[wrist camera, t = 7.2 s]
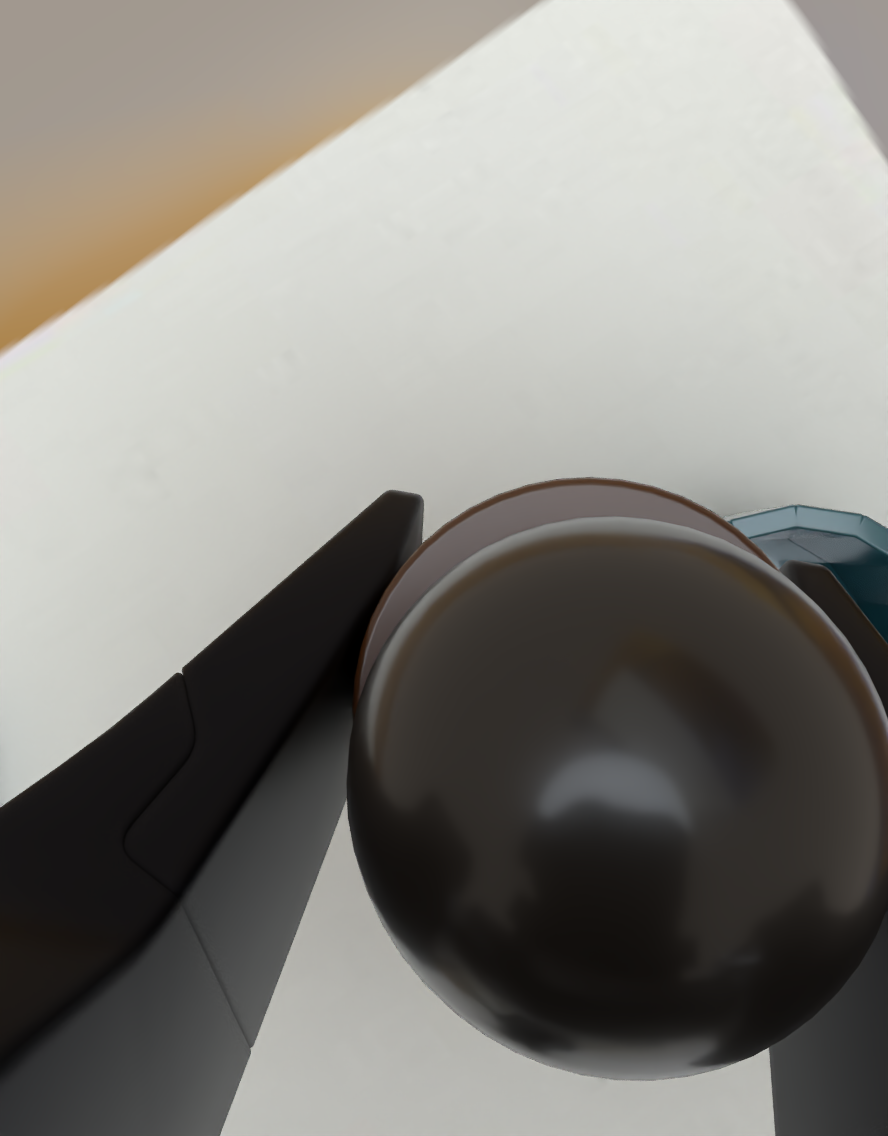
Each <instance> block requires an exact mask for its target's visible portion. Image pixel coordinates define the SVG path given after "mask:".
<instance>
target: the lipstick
mask: <svg viewBox="0 0 888 1136" xmlns="http://www.w3.org/2000/svg"><path fill="white" fill-rule="evenodd" d="M352 716H353V727H352V731H351V736H350V742H349V755H348V767H347V780H346V787H347V808H348V820H349V826H350V831H351V837H352V842H353V848H354V853H355V856H356V859H357V862H358V865H359V868H360V872H361V875H362V878H363V881H364V884H365V887H366V889H367V892H368V894H369V897H370V899H371V901H372V903H373V905H374V908H375V910H376V912H377V914H378V916H379V918H380V921H381V923H382V925H383V927H384V928H385V930H386V932H387V933H388V935H389V936H390V938H391V940H392V941H393V943H394V944H395V946H396V948H397V949H398V951H399V952H400V954H401V956H402V957H403V958H404V959H405V961H406V962H407V963H408V964H409V966H410V967H411V968H412V969H413V970H414V972H415V973H416V974H417V975H418V977H419V978H420V979H421V980H422V982H423V983H424V984H425V985H426V986H427V987H428V988H429V989H430V990H431V991H433V992H434V993H435V994H436V995H437V996H438V997H439V998H440V999H441V1000H442V1001H443V1002H444V1003H445V1004H446V1005H447V1006H448V1007H449V1008H450V1009H451V1010H453V1011H454V1012H455V1013H456V1014H457V1015H458V1016H460V1017H461V1018H462V1019H464V1020H465V1021H466V1022H468V1023H469V1024H470V1025H472V1026H473V1027H474V1028H476V1029H477V1030H478V1031H480V1032H481V1033H482V1034H484V1035H485V1036H487V1037H489V1038H491V1039H492V1040H494V1041H496V1042H498V1043H499V1044H501V1045H503V1046H505V1047H506V1048H508V1049H510V1050H512V1051H513V1052H515V1053H518V1054H520V1055H523V1056H525V1057H527V1058H530V1059H532V1060H535V1061H537V1062H539V1063H542V1064H544V1065H547V1066H550V1067H554V1068H557V1069H561V1070H564V1071H568V1072H572V1073H575V1074H579V1075H584V1076H591V1077H598V1078H605V1079H612V1080H636V1081H654V1080H663V1079H672V1078H681V1077H688V1076H693V1075H697V1074H701V1073H705V1072H709V1071H713V1070H717V1069H721V1068H723V1067H726V1066H729V1065H731V1064H734V1063H736V1062H739V1061H742V1060H744V1059H747V1058H749V1057H752V1056H754V1055H756V1054H758V1053H759V1052H761V1051H763V1050H765V1049H767V1048H769V1047H770V1046H772V1045H774V1044H776V1043H778V1042H779V1041H781V1040H783V1039H785V1038H786V1037H787V1036H789V1035H790V1034H791V1033H793V1032H794V1031H796V1030H797V1029H798V1028H800V1027H801V1026H802V1025H804V1024H805V1023H806V1022H808V1021H809V1020H810V1019H812V1018H813V1017H814V1016H815V1015H816V1014H817V1013H818V1012H819V1011H820V1010H821V1009H822V1008H823V1007H824V1006H825V1005H826V1004H827V1003H828V1002H829V1001H830V1000H831V999H832V998H833V997H834V996H835V995H837V994H838V992H839V991H840V990H841V988H842V987H843V986H844V985H845V983H846V982H847V981H848V979H849V978H850V977H851V976H852V974H853V973H854V972H855V970H856V969H857V968H858V967H859V965H860V963H861V962H862V960H863V958H864V956H865V955H866V953H867V951H868V950H869V948H870V946H871V944H872V943H873V941H874V939H875V937H876V936H877V933H878V931H879V928H880V926H881V923H882V921H883V918H884V916H885V913H886V911H887V909H888V719H887V716H886V713H885V710H884V707H883V704H882V701H881V699H880V697H879V695H878V693H877V691H876V688H875V686H874V684H873V682H872V680H871V678H870V676H869V674H868V672H867V670H866V668H865V666H864V665H863V663H862V661H861V660H860V658H859V657H858V655H857V654H856V652H855V651H854V649H853V648H852V646H851V645H850V643H849V642H848V640H847V639H846V637H845V636H844V635H843V633H842V632H841V631H840V630H839V629H838V628H837V626H836V625H835V624H834V623H833V622H832V621H831V620H830V618H829V617H828V616H827V615H826V614H825V613H824V611H823V610H822V609H821V608H820V607H819V606H818V605H817V604H816V603H815V602H814V601H813V600H812V599H811V598H810V597H808V596H807V595H806V594H805V593H804V592H803V591H802V590H801V589H799V588H798V587H797V586H796V585H795V584H794V583H793V582H792V581H790V580H789V579H788V578H787V577H786V576H785V575H783V574H782V573H781V572H780V570H779V569H778V568H777V567H776V566H775V565H774V564H773V562H772V561H771V560H770V559H769V558H768V557H767V555H766V554H765V553H764V552H763V551H762V550H761V549H760V548H759V547H758V546H757V545H756V544H754V543H753V542H752V541H751V540H750V539H749V538H748V537H747V536H745V535H744V534H743V533H742V532H741V531H740V530H739V529H737V528H736V527H735V526H733V525H732V524H730V523H729V522H727V521H726V520H724V519H723V518H721V517H720V516H718V515H717V514H715V513H714V512H712V511H711V510H709V509H707V508H705V507H703V506H701V505H699V504H697V503H695V502H693V501H691V500H689V499H687V498H685V497H683V496H680V495H677V494H674V493H671V492H668V491H666V490H663V489H660V488H657V487H654V486H650V485H645V484H640V483H636V482H631V481H626V480H620V479H607V478H594V477H585V478H566V479H556V480H550V481H545V482H539V483H534V484H529V485H525V486H522V487H519V488H516V489H513V490H510V491H507V492H504V493H501V494H498V495H496V496H494V497H492V498H490V499H487V500H485V501H483V502H481V503H479V504H477V505H475V506H473V507H471V508H469V509H468V510H466V511H464V512H463V513H461V514H460V515H458V516H457V517H455V518H454V519H452V520H451V521H449V522H447V523H446V524H445V525H443V526H442V527H441V528H440V529H439V530H437V531H436V532H435V533H434V534H433V535H432V536H430V537H429V538H428V539H427V540H426V541H425V542H423V543H422V544H421V545H420V546H419V547H418V549H417V550H416V551H415V552H414V553H413V554H412V555H411V556H410V557H409V559H408V560H407V561H406V562H405V563H404V564H403V565H402V566H401V568H400V569H399V571H398V572H397V574H396V575H395V576H394V578H393V579H392V581H391V582H390V584H389V585H388V587H387V588H386V590H385V591H384V593H383V595H382V597H381V599H380V601H379V603H378V605H377V607H376V609H375V610H374V612H373V614H372V616H371V619H370V621H369V624H368V627H367V630H366V633H365V635H364V638H363V641H362V644H361V647H360V652H359V656H358V661H357V666H356V670H355V675H354V687H353V699H352Z"/></svg>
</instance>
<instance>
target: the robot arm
mask: <svg viewBox="0 0 888 1136" xmlns="http://www.w3.org/2000/svg"><path fill="white" fill-rule="evenodd" d="M423 513H424V501H423V498H422V497H421V496H420V495H418V494H414V493H408V492H402V491H396V490H389V491H386V492H385V493H383V494H382V495H381V496H380V497H379V498H377V499H376V500H375V501H374V502H373V503H372V504H371V505H369V506H368V507H367V508H366V509H365V510H364V511H363V512H361V513H360V514H359V515H358V516H357V517H356V518H354V519H353V520H352V521H351V522H350V523H349V524H348V525H346V526H345V527H344V528H343V529H342V530H341V531H340V532H338V533H337V534H336V535H335V536H334V537H333V538H331V539H330V540H329V541H328V542H327V543H326V544H325V545H323V546H322V547H321V548H320V549H319V550H318V551H316V552H315V553H314V554H313V555H312V556H311V557H310V558H308V559H307V560H306V561H305V562H304V563H303V564H302V565H300V566H299V567H298V568H297V569H296V570H295V571H293V572H292V573H291V574H290V575H289V576H288V577H287V578H285V579H284V580H283V581H282V582H281V583H280V584H279V585H277V586H276V587H275V588H274V589H273V590H272V591H270V592H269V593H268V594H267V595H266V596H265V597H264V598H262V599H261V600H260V601H259V602H258V603H257V604H255V605H254V606H253V607H252V608H251V609H250V610H249V611H247V612H246V613H245V614H244V615H243V616H242V617H241V618H239V619H238V620H237V621H236V622H235V623H234V624H232V625H231V626H230V627H229V628H228V629H227V630H226V631H224V632H223V633H222V634H221V635H220V636H219V637H218V638H216V639H215V640H214V641H213V642H212V643H211V644H209V645H208V646H207V647H206V648H205V649H204V650H203V651H201V652H200V653H199V654H198V655H197V656H196V657H194V658H193V659H192V660H191V661H190V662H189V663H188V664H186V665H185V666H184V667H183V668H182V674H183V675H182V674H181V673H176V674H174V675H173V676H172V677H171V678H170V679H169V680H168V681H166V682H165V683H164V684H163V685H162V686H161V687H160V688H158V689H157V690H156V691H155V692H154V693H153V694H151V695H150V696H149V697H148V698H147V699H145V700H144V701H143V702H142V703H141V704H139V705H138V706H137V707H136V708H134V709H133V710H132V711H131V712H130V713H128V714H127V715H126V716H125V717H123V718H122V719H121V720H120V721H119V722H117V723H116V724H115V725H114V726H113V727H111V728H110V729H109V730H107V731H106V732H105V733H103V734H102V735H101V736H99V737H98V738H97V739H95V740H94V741H93V742H91V743H90V744H88V745H87V746H86V747H84V748H83V749H82V750H80V751H79V752H78V753H76V754H75V755H74V756H72V757H71V758H70V759H68V760H67V761H66V762H64V763H63V764H61V765H60V766H59V767H57V768H56V769H54V770H53V771H51V772H50V773H49V774H47V775H46V776H44V777H43V778H42V779H40V780H39V781H37V782H36V783H34V784H33V785H32V786H30V787H29V788H27V789H26V790H25V791H23V792H22V793H20V794H19V795H17V796H16V797H15V798H13V799H12V800H10V801H9V802H8V803H6V804H5V805H3V806H2V807H0V1136H220V1133H221V1131H222V1128H223V1125H224V1123H225V1120H226V1117H227V1115H228V1112H229V1110H230V1107H231V1104H232V1102H233V1099H234V1096H235V1094H236V1091H237V1088H238V1086H239V1083H240V1080H241V1078H242V1075H243V1073H244V1070H245V1067H246V1065H247V1062H248V1059H249V1057H250V1054H251V1050H250V1048H251V1047H253V1045H254V1043H255V1040H256V1038H257V1035H258V1032H259V1030H260V1027H261V1024H262V1022H263V1019H264V1016H265V1014H266V1011H267V1008H268V1006H269V1003H270V1000H271V998H272V995H273V993H274V990H275V987H276V985H277V982H278V979H279V977H280V974H281V971H282V969H283V966H284V963H285V961H286V958H287V955H288V953H289V950H290V947H291V945H292V942H293V940H294V937H295V934H296V932H297V929H298V926H299V924H300V921H301V918H302V916H303V913H304V910H305V908H306V905H307V902H308V900H309V897H310V894H311V892H312V889H313V887H314V884H315V881H316V879H317V876H318V873H319V871H320V868H321V865H322V863H323V860H324V857H325V855H326V852H327V849H328V847H329V844H330V842H331V839H332V836H333V834H334V831H335V828H336V826H337V823H338V820H339V818H340V815H341V812H342V810H343V807H344V804H345V802H346V799H347V787H346V780H347V767H348V755H349V742H350V736H351V731H352V727H353V716H352V699H353V687H354V675H355V670H356V666H357V661H358V656H359V652H360V647H361V644H362V641H363V638H364V635H365V633H366V630H367V627H368V624H369V621H370V619H371V616H372V614H373V612H374V610H375V609H376V607H377V605H378V603H379V601H380V599H381V597H382V595H383V593H384V591H385V590H386V588H387V587H388V585H389V584H390V582H391V581H392V579H393V578H394V576H395V575H396V574H397V572H398V571H399V569H400V568H401V566H402V565H403V564H404V563H405V562H406V561H407V560H408V559H409V557H410V556H411V555H412V554H413V553H414V552H415V551H416V550H417V549H418V547H419V546H420V545H421V544H422V533H423ZM779 570H780V572H781V573H782V574H783V575H785V576H786V577H787V578H788V579H789V580H790V581H792V582H793V583H794V584H795V585H796V586H797V587H798V588H799V589H801V590H802V591H803V592H804V593H805V594H806V595H807V596H808V597H810V598H811V599H812V600H813V601H814V602H815V603H816V604H817V605H818V606H819V607H820V608H821V609H822V610H823V611H824V613H825V614H826V615H827V616H828V617H829V618H830V620H831V621H832V622H833V623H834V624H835V625H836V626H837V628H838V629H839V630H840V631H841V632H842V633H843V635H844V636H845V637H846V639H847V640H848V642H849V643H850V645H851V646H852V648H853V649H854V651H855V652H856V654H857V655H858V657H859V658H860V660H861V661H862V663H863V665H864V666H865V668H866V670H867V672H868V674H869V676H870V678H871V680H872V682H873V684H874V686H875V688H876V691H877V693H878V695H879V697H880V699H881V701H882V704H883V707H884V710H885V713H886V716H887V719H888V644H887V642H886V641H885V640H884V639H883V637H882V636H881V635H880V633H879V632H878V631H877V630H876V628H875V627H874V626H873V624H872V623H871V622H870V621H869V619H868V618H867V617H866V616H865V614H864V613H863V612H862V610H861V609H860V608H859V607H858V605H857V604H856V603H855V602H854V600H853V599H852V598H851V596H850V595H849V594H848V593H847V591H846V590H845V589H844V587H843V586H842V585H841V584H840V582H839V581H838V580H837V579H836V577H835V576H834V575H833V573H832V572H831V571H830V570H829V569H828V568H827V567H825V566H823V565H820V564H814V563H808V562H803V561H797V560H789V561H786V562H785V563H784V564H783V565H782V566H781V568H780V569H779ZM769 1053H770V1067H771V1081H772V1095H773V1109H774V1123H775V1136H888V909H887V911H886V913H885V916H884V918H883V921H882V923H881V926H880V928H879V931H878V933H877V936H876V937H875V939H874V941H873V943H872V944H871V946H870V948H869V950H868V951H867V953H866V955H865V956H864V958H863V960H862V962H861V963H860V965H859V967H858V968H857V969H856V970H855V972H854V973H853V974H852V976H851V977H850V978H849V979H848V981H847V982H846V983H845V985H844V986H843V987H842V988H841V990H840V991H839V992H838V994H837V995H835V996H834V997H833V998H832V999H831V1000H830V1001H829V1002H828V1003H827V1004H826V1005H825V1006H824V1007H823V1008H822V1009H821V1010H820V1011H819V1012H818V1013H817V1014H816V1015H815V1016H814V1017H813V1018H812V1019H810V1020H809V1021H808V1022H806V1023H805V1024H804V1025H802V1026H801V1027H800V1028H798V1029H797V1030H796V1031H794V1032H793V1033H791V1034H790V1035H789V1036H787V1037H786V1038H785V1039H783V1040H781V1041H779V1042H778V1043H776V1044H774V1045H772V1046H770V1047H769Z"/></svg>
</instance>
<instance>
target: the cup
mask: <svg viewBox="0 0 888 1136" xmlns="http://www.w3.org/2000/svg"><path fill="white" fill-rule="evenodd" d="M721 518H723V519H724V520H726V521H727V522H729V523H730V524H732V525H733V526H735V527H736V528H737V529H739V530H740V531H741V532H742V533H743V534H744V535H745V536H747V537H748V538H749V539H750V540H751V541H752V542H753V543H754V544H756V545H757V546H758V547H759V548H760V549H761V550H762V551H763V552H764V553H765V554H766V555H767V557H768V558H769V559H770V560H771V561H772V562H773V564H774V565H775V566H776V567H777V568H778V569H780V568H781V566H782V565H783V564H784V563H785V562H786V561H789V560H797V561H803V562H808V563H814V564H820V565H823V566H825V567H827V568H828V569H829V570H830V571H831V572H832V573H833V575H834V576H835V577H836V579H837V580H838V581H839V582H840V584H841V585H842V586H843V587H844V589H845V590H846V591H847V593H848V594H849V595H850V596H851V598H852V599H853V600H854V602H855V603H856V604H857V605H858V607H859V608H860V609H861V610H862V612H863V613H864V614H865V616H866V617H867V618H868V619H869V621H870V622H871V623H872V624H873V626H874V627H875V628H876V630H877V631H878V632H879V633H880V635H881V636H882V637H883V639H884V640H885V641H886V642H887V644H888V528H886V527H884V526H883V525H881V524H879V523H878V522H876V521H874V520H872V519H871V518H869V517H867V516H864V515H862V514H859V513H852V512H845V511H839V510H832V509H825V508H819V507H812V506H805V505H799V504H798V505H787V506H781V507H775V508H768V509H762V510H756V511H749V512H743V513H737V514H733V515H729V516H725V517H721Z"/></svg>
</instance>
